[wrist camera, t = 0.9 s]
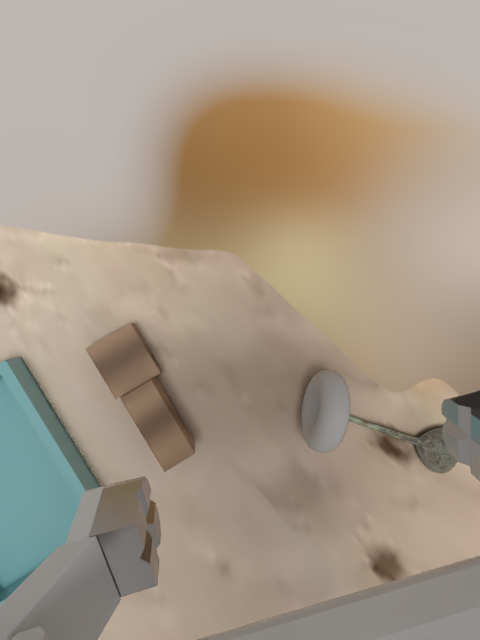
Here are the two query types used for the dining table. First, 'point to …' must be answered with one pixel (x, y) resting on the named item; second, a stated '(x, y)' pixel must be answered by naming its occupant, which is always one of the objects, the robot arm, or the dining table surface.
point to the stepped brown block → (143, 393)
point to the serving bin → (33, 477)
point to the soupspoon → (421, 446)
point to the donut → (325, 411)
